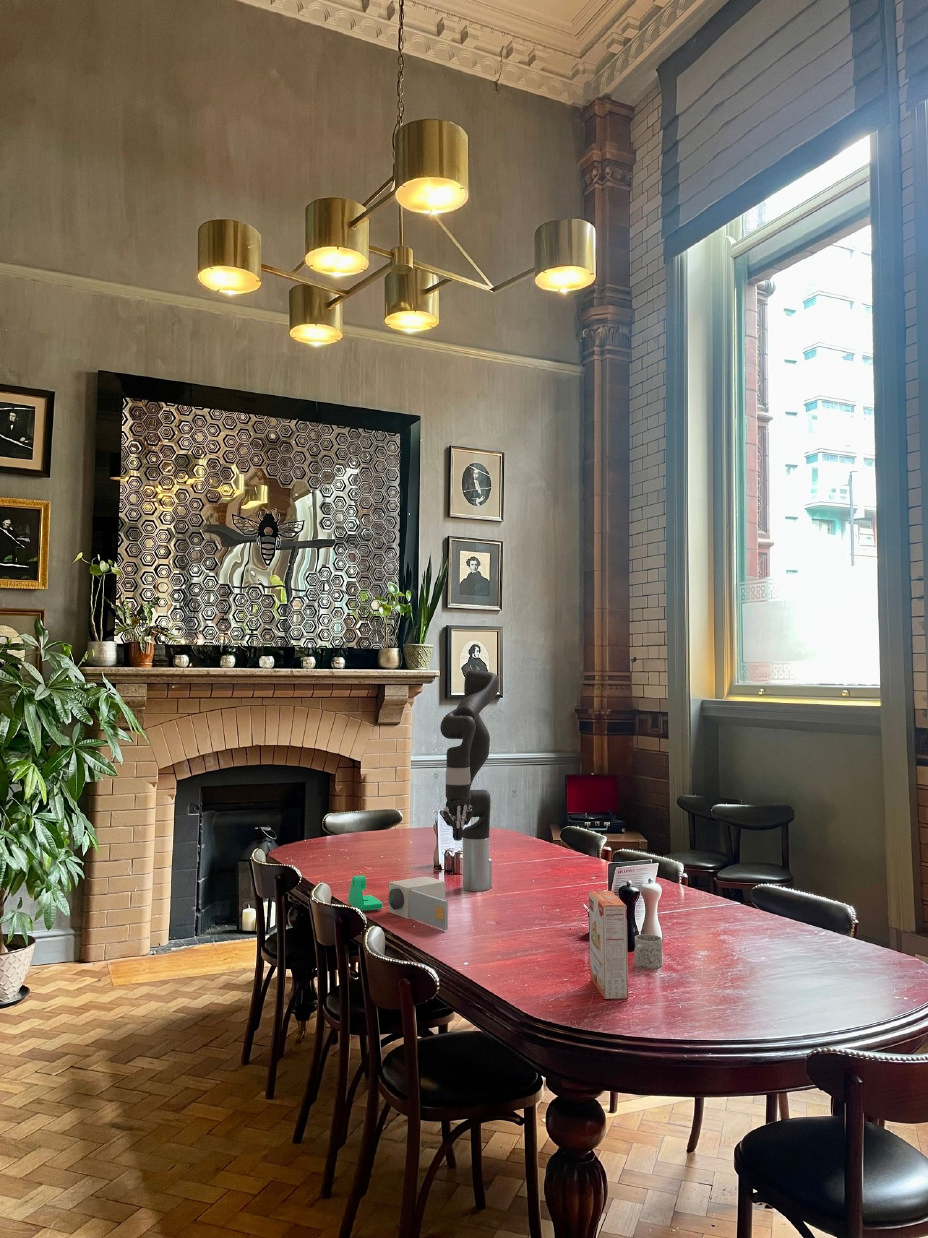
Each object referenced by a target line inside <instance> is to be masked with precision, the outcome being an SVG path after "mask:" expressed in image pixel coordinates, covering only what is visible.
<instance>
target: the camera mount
mask: <svg viewBox="0 0 928 1238" xmlns="http://www.w3.org/2000/svg"><path fill="white" fill-rule="evenodd" d="M366 888H367V878H366V876H365V875H364V874H363V875H353V876H352V879H351V883H350V887H349V893H348V897H347V898H348V899H347V900H348V903H349V905H351V907H352V906H353V907H357V908H358V909H360V910H362V911H361V912H363V911H371V910H372V911H373V910H381V909H383V901H381V900H379V899H378V898H376V897H375V896H374V895H370V894H368V895H364V894H363V891H366Z"/></svg>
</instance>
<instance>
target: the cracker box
mask: <svg viewBox="0 0 928 1238" xmlns="http://www.w3.org/2000/svg"><path fill="white" fill-rule="evenodd" d="M588 905H589V906H588V908H589V909H588V914H589V967H590V968H589V970H590V972H589V973H590V980H591V982H592V983H593V985H594V986H595V988H596V989H597V991H598V992H599V994H600V995H601V997H602V996H603V997H602V998H603V1000H604V999H613V1000H628V999H629V974H628V973H629V972H628V971H629V968H628V967H629V966H628V960H629V959H628V958H629V957H628V915H627V914H628V913H627V912H628V907H627V905H626V904H625V903H624V901H622V900H621V899H620V898H619V897H618V896H617V895H616V894H615V893H614V892H613V891H612V890H604V891H602V890H601V891H600V890H594V891H588Z"/></svg>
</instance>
